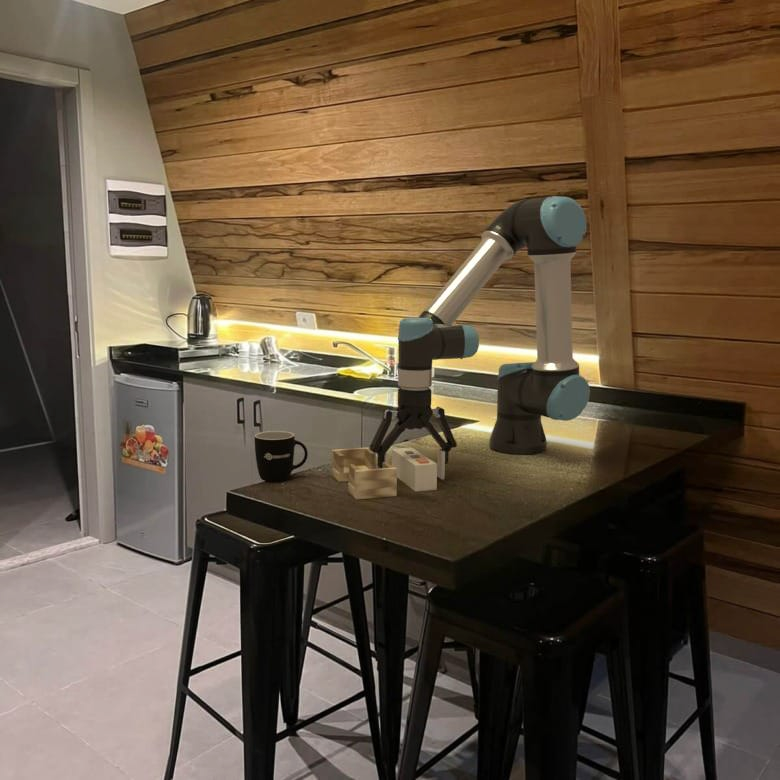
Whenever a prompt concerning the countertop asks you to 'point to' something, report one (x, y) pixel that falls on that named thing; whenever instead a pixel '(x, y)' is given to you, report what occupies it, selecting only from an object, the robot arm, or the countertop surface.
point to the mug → (276, 455)
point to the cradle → (364, 473)
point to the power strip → (415, 469)
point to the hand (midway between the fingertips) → (413, 480)
